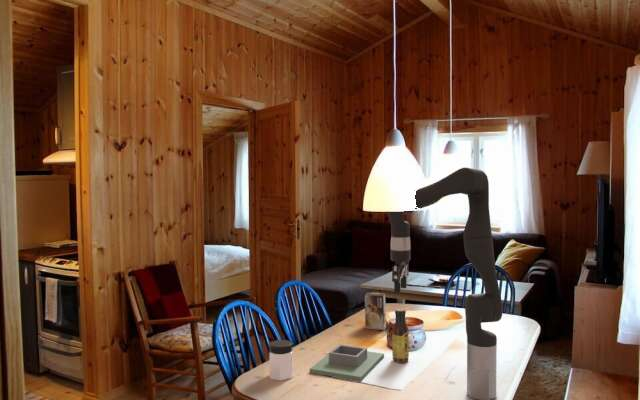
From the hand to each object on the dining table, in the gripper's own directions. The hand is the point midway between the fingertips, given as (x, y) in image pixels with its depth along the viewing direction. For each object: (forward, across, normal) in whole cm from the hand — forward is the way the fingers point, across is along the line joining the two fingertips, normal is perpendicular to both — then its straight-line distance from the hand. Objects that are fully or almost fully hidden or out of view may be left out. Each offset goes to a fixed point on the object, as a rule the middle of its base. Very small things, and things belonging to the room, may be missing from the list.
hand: (400, 290), depth 204 cm
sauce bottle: (+28, 0, 0) cm, 28 cm away
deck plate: (+28, -12, +17) cm, 35 cm away
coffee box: (+28, +38, +23) cm, 52 cm away
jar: (+28, -32, +35) cm, 55 cm away
